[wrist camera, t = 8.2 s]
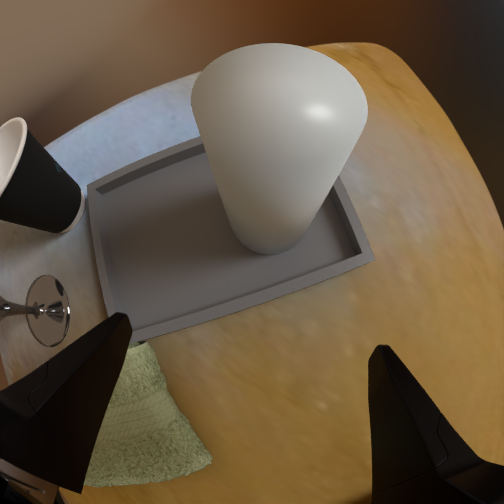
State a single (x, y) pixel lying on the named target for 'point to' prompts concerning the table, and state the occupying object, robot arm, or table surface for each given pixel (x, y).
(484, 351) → the table surface
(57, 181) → the dixie cup
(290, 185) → the white cylinder
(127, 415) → the washcloth
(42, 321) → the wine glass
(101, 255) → the tray
